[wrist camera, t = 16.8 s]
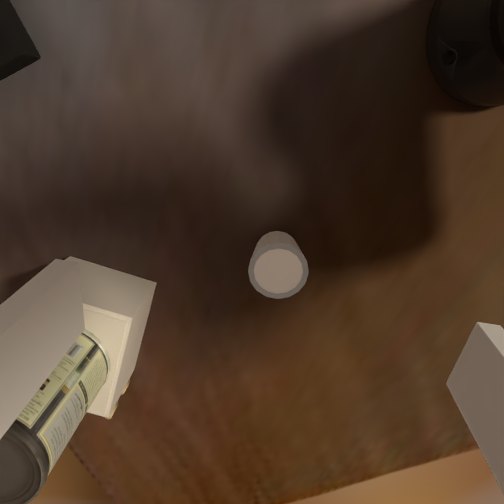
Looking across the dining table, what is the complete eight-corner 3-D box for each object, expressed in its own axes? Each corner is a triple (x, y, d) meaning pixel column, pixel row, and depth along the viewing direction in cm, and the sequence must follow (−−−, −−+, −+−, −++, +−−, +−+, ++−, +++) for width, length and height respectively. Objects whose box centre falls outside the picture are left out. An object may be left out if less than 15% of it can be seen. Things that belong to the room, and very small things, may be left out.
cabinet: (157, 282, 50) (132, 320, 41) (132, 377, 56) (105, 429, 46) (70, 256, 49) (23, 287, 40) (53, 355, 55) (9, 403, 45)
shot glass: (312, 238, 47) (319, 257, 41) (289, 283, 50) (292, 307, 43) (263, 217, 47) (262, 233, 40) (242, 264, 49) (238, 286, 42)
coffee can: (33, 395, 45) (-65, 510, 32) (15, 320, 41) (-103, 414, 28) (117, 397, 45) (53, 514, 31) (105, 322, 41) (29, 418, 28)
